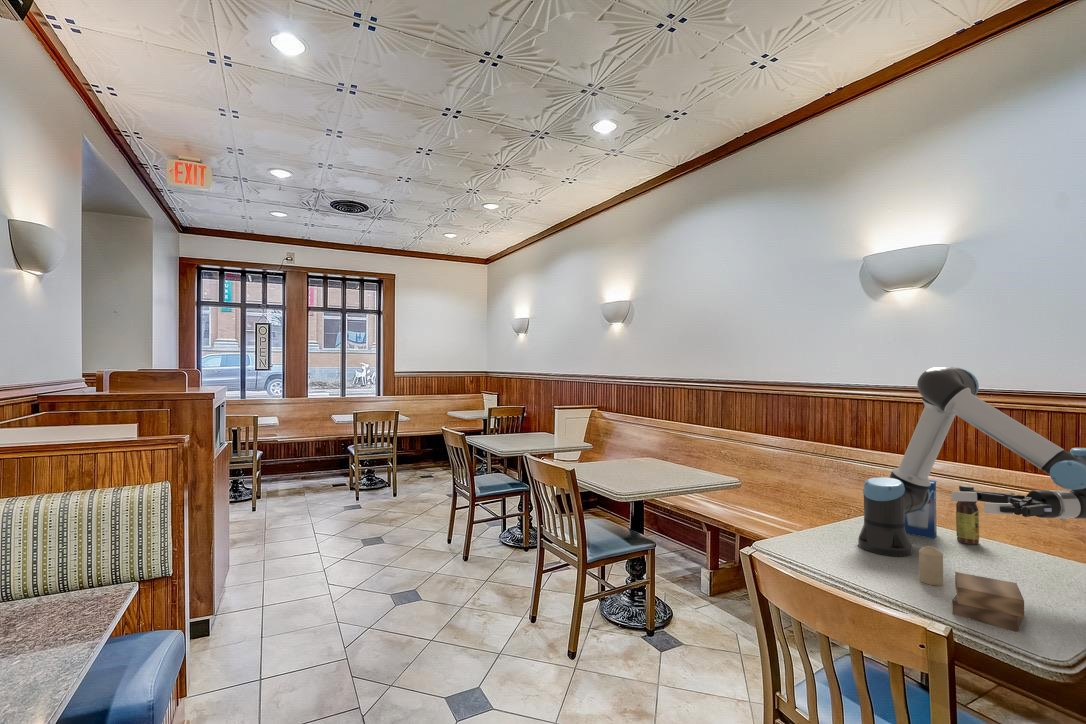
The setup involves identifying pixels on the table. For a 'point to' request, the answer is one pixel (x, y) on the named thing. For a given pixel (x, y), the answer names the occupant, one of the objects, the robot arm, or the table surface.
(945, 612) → the table surface
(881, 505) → the robot arm
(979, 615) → the tower base
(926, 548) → the candle
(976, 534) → the sauce bottle
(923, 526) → the milk carton
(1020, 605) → the tower top
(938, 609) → the table surface
